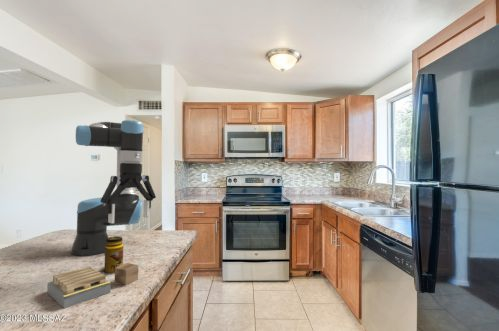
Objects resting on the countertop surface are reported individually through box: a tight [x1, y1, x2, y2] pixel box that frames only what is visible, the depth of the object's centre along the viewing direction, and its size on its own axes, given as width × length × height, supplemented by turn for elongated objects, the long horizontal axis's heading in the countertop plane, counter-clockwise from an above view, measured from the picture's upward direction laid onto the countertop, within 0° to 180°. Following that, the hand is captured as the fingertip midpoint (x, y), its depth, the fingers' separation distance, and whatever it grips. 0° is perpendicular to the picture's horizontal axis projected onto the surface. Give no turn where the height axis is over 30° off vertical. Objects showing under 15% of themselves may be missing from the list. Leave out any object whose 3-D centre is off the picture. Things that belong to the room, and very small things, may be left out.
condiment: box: [97, 235, 124, 275], centre depth 96 cm, size 7×8×12 cm
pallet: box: [52, 266, 107, 294], centre depth 79 cm, size 12×10×2 cm
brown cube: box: [114, 262, 139, 286], centre depth 88 cm, size 5×5×5 cm
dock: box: [46, 279, 112, 309], centre depth 79 cm, size 14×12×3 cm
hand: (129, 219), depth 98 cm, fingers open, 13 cm apart
